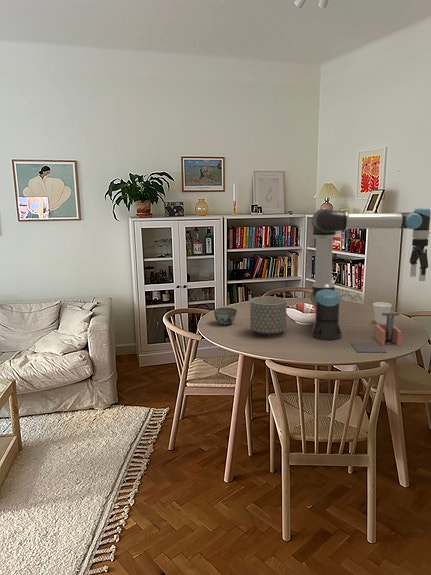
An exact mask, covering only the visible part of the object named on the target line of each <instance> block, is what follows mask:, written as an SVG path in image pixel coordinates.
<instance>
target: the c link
mask: <svg viewBox="0 0 431 575" xmlns="http://www.w3.org/2000/svg"><path fill="white" fill-rule="evenodd" d="M373 324H374V325H373V326H374V327H373V338H374V339H375V340H376V341H377V343H379V344H380V345H381V346H385V345H386V344H385V338H386V324H377V323H373ZM402 332H403V331H402V330H400V328H398V327H397V326H396V325H395V324H393V339H392V341H393V342H394V344H395V345H396V346H402V335H403V334H402Z"/></svg>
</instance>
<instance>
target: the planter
mask: <svg viewBox="0 0 431 575" xmlns="http://www.w3.org/2000/svg"><path fill="white" fill-rule="evenodd" d="M249 302H250V304H249V307H250V308H249V312H250V314H249V316H250V317H249V319H250V325H249V327H250V329H251V331H254V332H256V333H258V334H260V335H263V336H274V335H277V334H279V333H283V332H284V331H286V329H287V308H288V307H287V299H285V298H284V297H281V296H279V297H278V296H271V295H270V296H257V297H256V296H255V297H253V298H250V300H249Z"/></svg>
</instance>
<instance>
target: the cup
mask: <svg viewBox="0 0 431 575" xmlns="http://www.w3.org/2000/svg"><path fill="white" fill-rule="evenodd" d="M372 304H373V310H374V319H375V324H386V322H387V316H383V315H382V313H391V310H392V309H391V308H392V306H393V305H392V303H389V302H374V303H372Z"/></svg>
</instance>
